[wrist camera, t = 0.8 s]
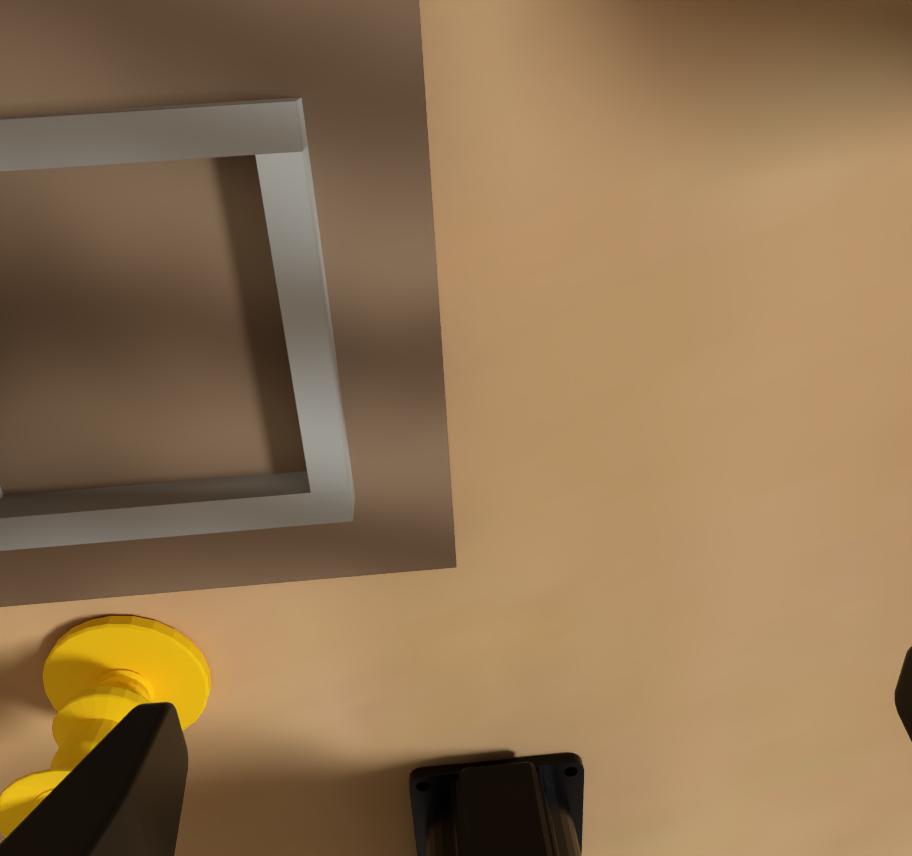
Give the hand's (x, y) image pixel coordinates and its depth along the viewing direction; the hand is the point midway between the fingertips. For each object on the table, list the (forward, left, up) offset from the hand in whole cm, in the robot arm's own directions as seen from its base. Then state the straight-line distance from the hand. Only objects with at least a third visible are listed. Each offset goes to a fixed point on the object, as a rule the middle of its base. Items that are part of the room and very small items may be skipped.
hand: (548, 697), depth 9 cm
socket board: (+1, +9, -13) cm, 16 cm away
